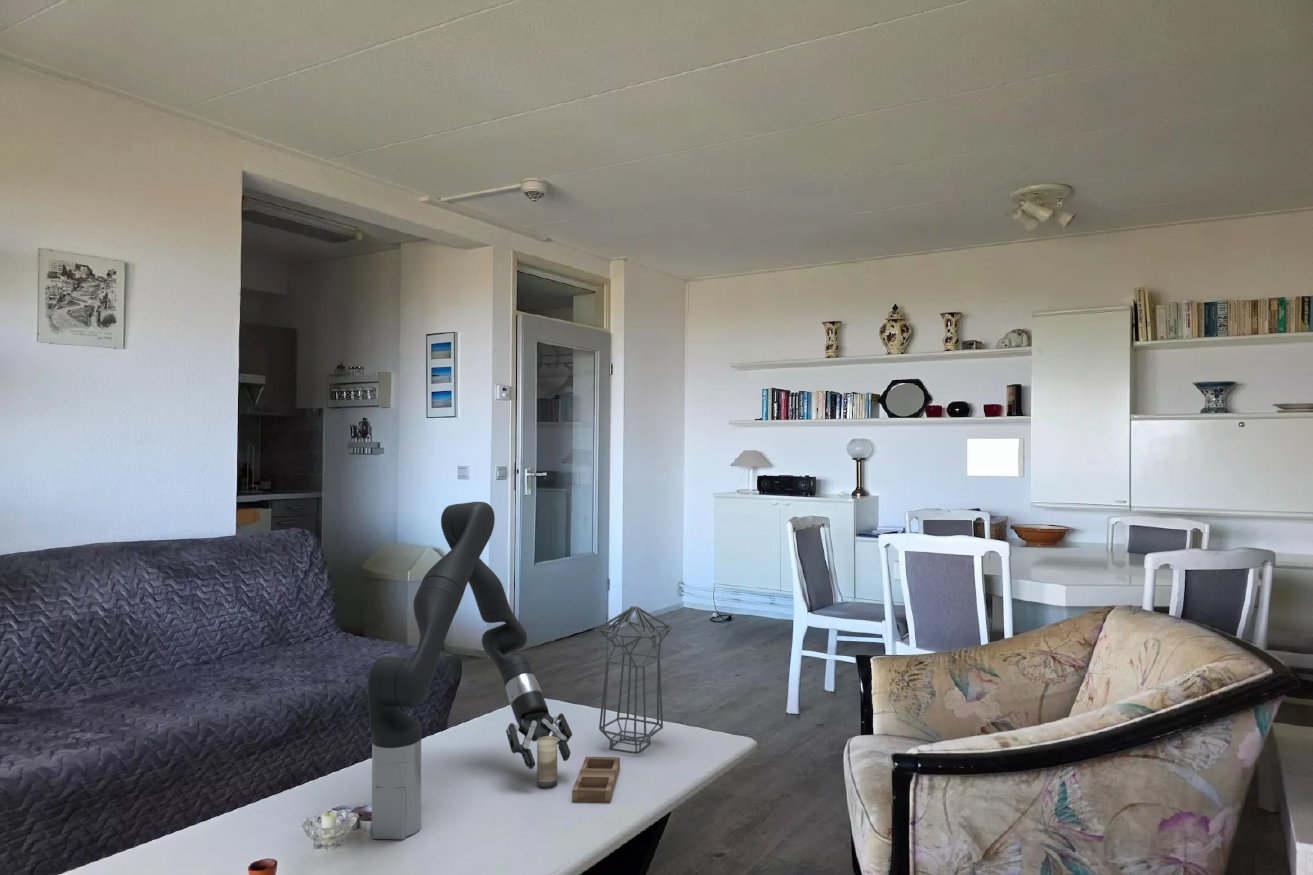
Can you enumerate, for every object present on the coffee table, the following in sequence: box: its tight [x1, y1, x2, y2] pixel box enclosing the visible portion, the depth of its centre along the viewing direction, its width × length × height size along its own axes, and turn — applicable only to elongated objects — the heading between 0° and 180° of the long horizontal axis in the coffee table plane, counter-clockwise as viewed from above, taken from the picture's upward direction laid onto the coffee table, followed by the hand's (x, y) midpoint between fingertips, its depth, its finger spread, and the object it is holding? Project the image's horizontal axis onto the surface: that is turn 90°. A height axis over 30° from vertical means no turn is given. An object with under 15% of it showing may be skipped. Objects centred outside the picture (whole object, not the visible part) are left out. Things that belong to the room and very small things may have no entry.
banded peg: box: [536, 736, 558, 790], centre depth 189 cm, size 4×4×10 cm
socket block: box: [571, 756, 621, 804], centre depth 189 cm, size 20×8×2 cm, turn 177°
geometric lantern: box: [594, 606, 673, 754], centre depth 214 cm, size 16×16×35 cm
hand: (550, 763), depth 188 cm, fingers open, 8 cm apart
